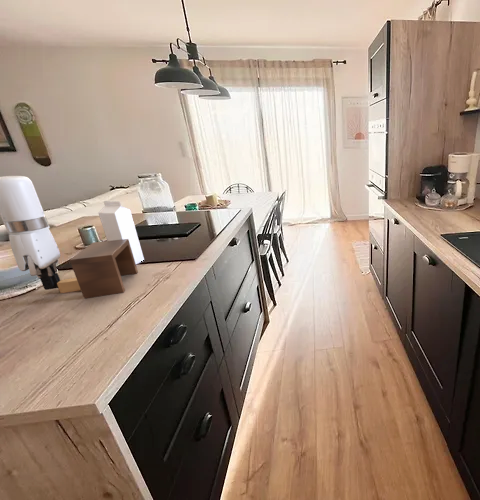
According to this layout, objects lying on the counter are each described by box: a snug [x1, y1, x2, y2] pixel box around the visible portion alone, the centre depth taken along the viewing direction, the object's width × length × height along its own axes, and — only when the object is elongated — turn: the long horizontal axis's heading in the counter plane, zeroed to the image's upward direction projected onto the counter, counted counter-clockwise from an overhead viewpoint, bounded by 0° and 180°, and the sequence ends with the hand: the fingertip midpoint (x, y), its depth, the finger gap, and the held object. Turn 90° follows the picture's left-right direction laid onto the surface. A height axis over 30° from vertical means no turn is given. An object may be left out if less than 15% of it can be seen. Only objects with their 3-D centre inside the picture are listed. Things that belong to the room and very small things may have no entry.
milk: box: [98, 200, 145, 265], centre depth 97 cm, size 6×6×22 cm
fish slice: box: [57, 277, 81, 294], centre depth 83 cm, size 12×5×3 cm, turn 112°
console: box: [69, 239, 139, 300], centre depth 84 cm, size 9×15×12 cm, turn 22°
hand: (53, 287), depth 81 cm, fingers closed
